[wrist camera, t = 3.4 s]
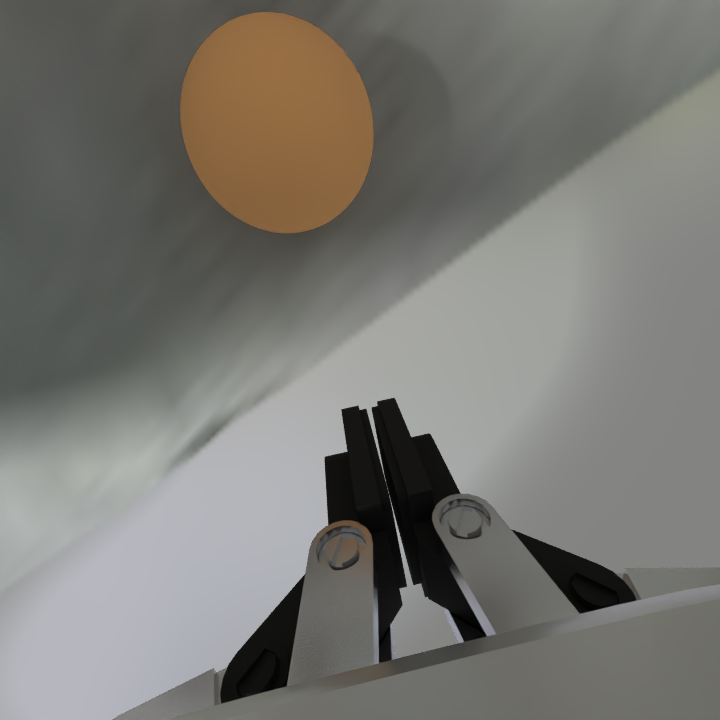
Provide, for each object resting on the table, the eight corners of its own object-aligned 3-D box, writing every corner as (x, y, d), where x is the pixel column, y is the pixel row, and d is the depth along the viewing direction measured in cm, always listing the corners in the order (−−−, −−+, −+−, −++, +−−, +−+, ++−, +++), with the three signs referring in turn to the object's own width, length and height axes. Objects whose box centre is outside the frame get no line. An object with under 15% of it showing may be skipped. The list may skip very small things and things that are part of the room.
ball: (233, 239, 16) (201, 262, 11) (180, 67, 14) (103, -16, 8) (370, 211, 17) (406, 220, 11) (343, 40, 14) (372, -57, 9)
